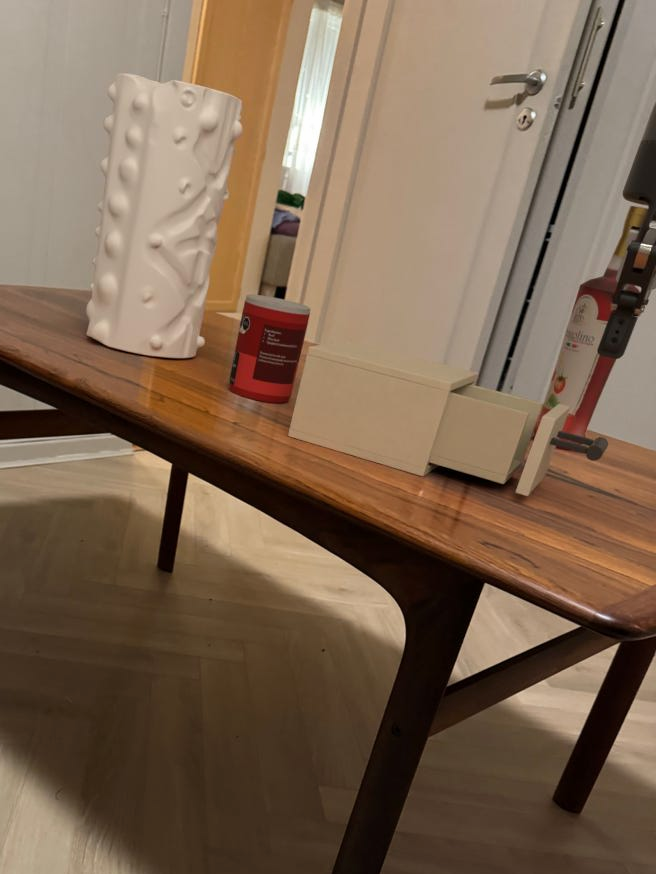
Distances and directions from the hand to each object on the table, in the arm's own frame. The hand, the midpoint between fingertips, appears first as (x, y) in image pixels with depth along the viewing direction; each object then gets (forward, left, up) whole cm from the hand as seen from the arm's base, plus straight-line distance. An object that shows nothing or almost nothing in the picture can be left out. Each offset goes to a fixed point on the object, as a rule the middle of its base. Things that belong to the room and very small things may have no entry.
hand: (609, 356), depth 83 cm
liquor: (+4, -32, -14) cm, 35 cm away
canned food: (+37, -10, -14) cm, 41 cm away
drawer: (+6, 0, -13) cm, 15 cm away
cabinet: (+19, 0, -14) cm, 24 cm away
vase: (+60, -20, -14) cm, 65 cm away
